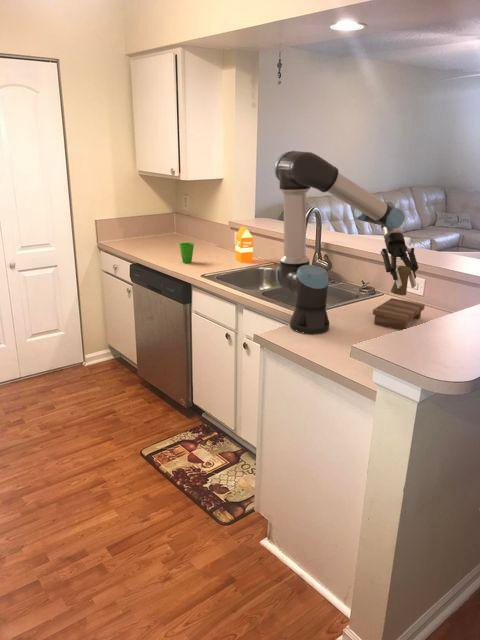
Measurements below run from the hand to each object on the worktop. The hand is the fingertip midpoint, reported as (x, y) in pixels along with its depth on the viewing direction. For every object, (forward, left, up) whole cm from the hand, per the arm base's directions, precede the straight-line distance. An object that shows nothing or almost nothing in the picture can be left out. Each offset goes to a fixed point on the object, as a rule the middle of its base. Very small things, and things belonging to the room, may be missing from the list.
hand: (406, 286), depth 200 cm
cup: (-69, +122, -16) cm, 141 cm away
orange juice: (-35, +121, -16) cm, 127 cm away
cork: (-1, +4, -4) cm, 6 cm away
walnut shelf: (0, +4, -15) cm, 16 cm away
